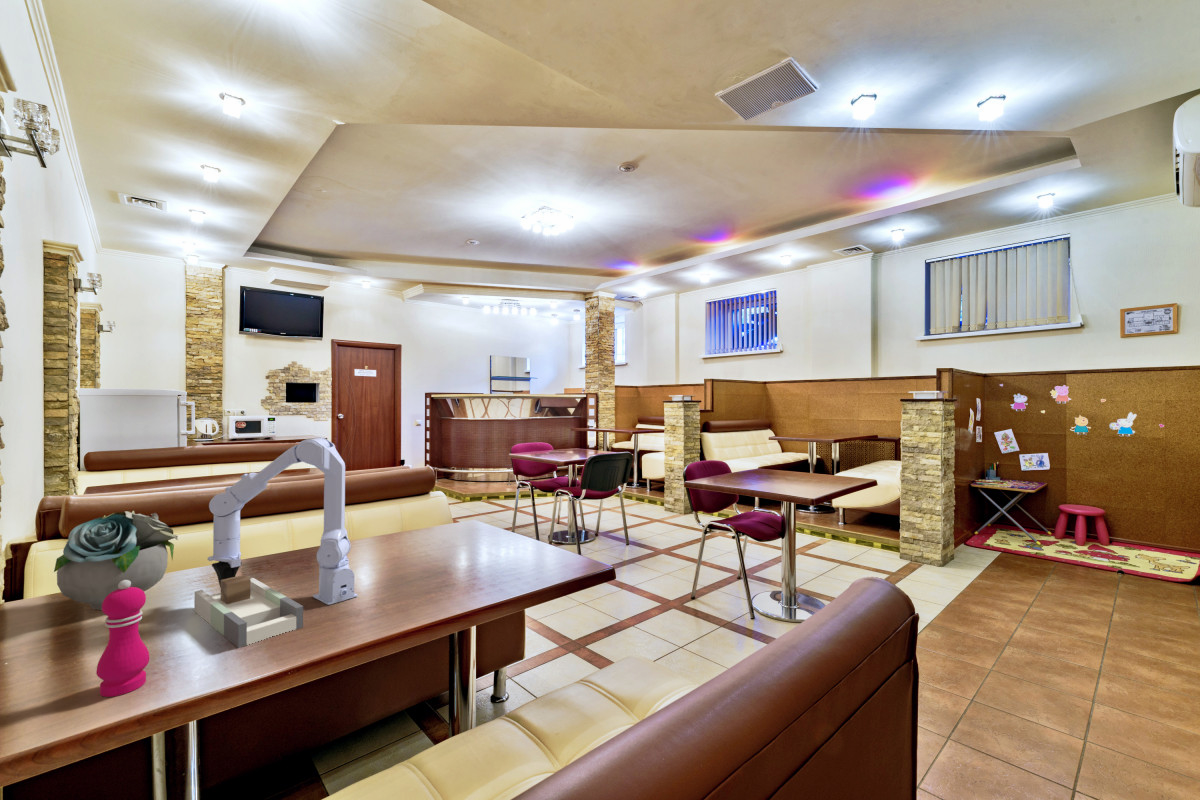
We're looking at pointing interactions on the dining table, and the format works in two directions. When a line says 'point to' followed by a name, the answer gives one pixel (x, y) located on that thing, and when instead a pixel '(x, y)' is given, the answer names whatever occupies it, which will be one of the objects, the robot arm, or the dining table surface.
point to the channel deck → (250, 614)
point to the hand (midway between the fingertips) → (226, 589)
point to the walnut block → (235, 589)
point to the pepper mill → (123, 642)
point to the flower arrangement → (113, 556)
